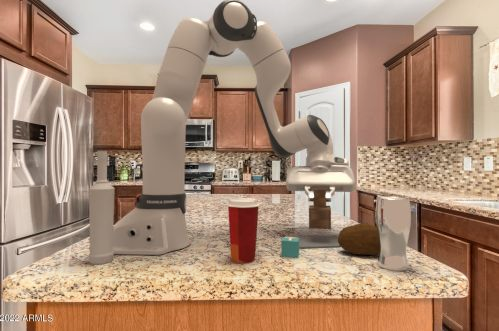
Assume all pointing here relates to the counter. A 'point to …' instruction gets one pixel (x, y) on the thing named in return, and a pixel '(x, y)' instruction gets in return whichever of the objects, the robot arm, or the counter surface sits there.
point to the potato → (360, 239)
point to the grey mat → (317, 241)
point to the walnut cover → (319, 211)
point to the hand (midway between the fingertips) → (319, 200)
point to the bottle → (101, 215)
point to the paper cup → (243, 229)
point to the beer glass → (393, 231)
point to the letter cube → (290, 247)
